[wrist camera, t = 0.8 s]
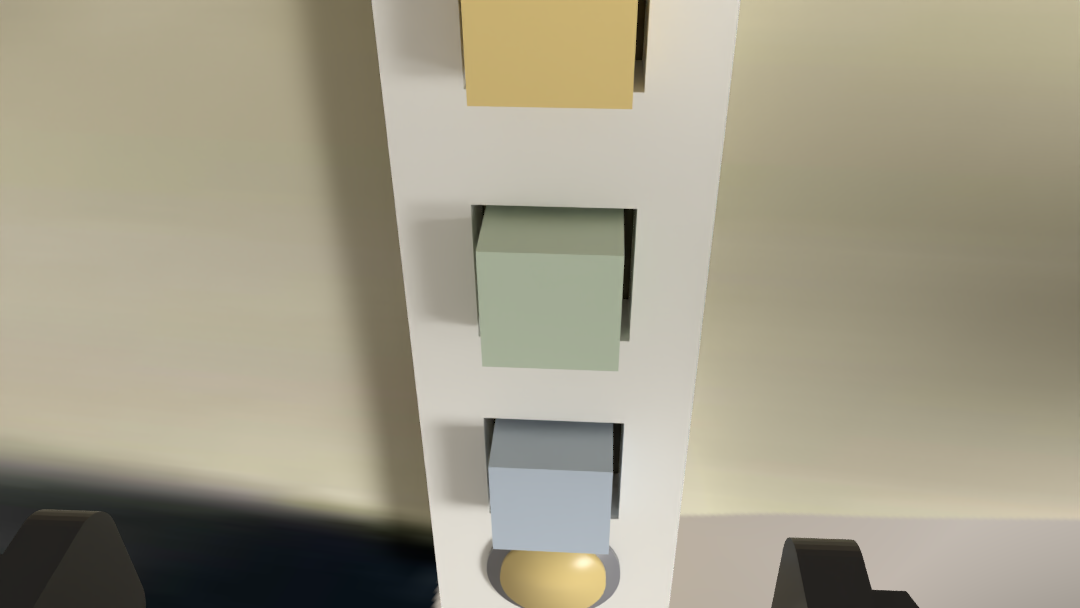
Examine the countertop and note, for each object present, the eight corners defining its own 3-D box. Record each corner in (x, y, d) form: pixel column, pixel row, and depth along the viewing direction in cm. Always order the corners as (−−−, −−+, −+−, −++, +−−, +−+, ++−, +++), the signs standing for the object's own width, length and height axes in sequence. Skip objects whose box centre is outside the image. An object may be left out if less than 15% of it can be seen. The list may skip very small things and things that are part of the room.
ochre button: (639, -94, 24) (641, -66, 22) (630, 66, 27) (632, 109, 24) (472, -95, 24) (456, -67, 22) (480, 64, 27) (466, 106, 24)
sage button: (623, 205, 29) (624, 256, 27) (618, 316, 32) (618, 371, 29) (487, 202, 30) (475, 251, 27) (492, 311, 32) (482, 366, 30)
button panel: (752, -224, 24) (769, -208, 21) (664, 573, 42) (668, 634, 40) (369, -223, 24) (339, -207, 22) (449, 563, 43) (439, 622, 40)
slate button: (613, 414, 35) (612, 472, 32) (609, 494, 37) (608, 554, 35) (497, 409, 35) (488, 467, 32) (500, 490, 37) (492, 549, 35)
